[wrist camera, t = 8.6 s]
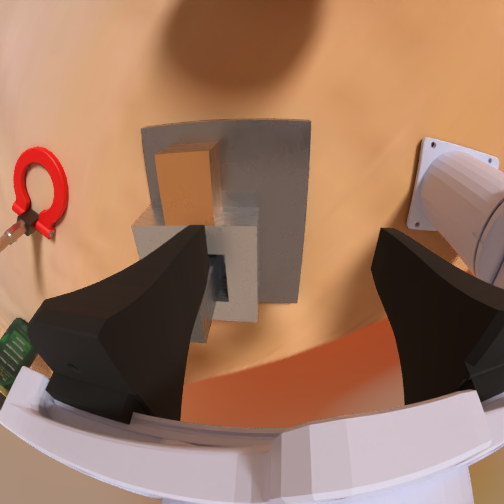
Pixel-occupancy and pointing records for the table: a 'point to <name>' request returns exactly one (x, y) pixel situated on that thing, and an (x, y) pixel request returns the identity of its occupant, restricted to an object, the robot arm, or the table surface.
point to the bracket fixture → (232, 202)
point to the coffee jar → (14, 355)
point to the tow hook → (28, 217)
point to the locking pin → (208, 299)
